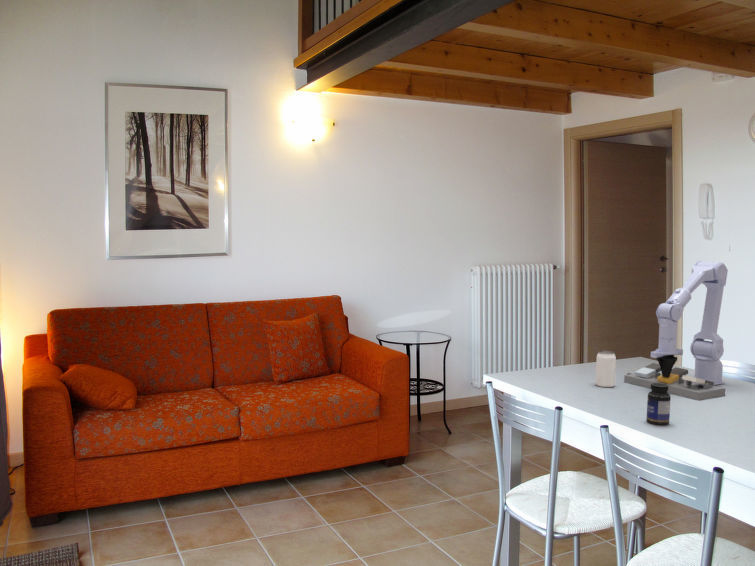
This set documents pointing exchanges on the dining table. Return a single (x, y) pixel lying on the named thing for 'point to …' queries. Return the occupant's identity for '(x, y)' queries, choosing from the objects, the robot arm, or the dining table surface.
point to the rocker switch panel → (679, 387)
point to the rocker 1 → (648, 370)
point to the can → (605, 369)
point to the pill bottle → (658, 404)
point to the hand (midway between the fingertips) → (665, 376)
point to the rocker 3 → (697, 380)
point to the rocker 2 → (673, 375)
